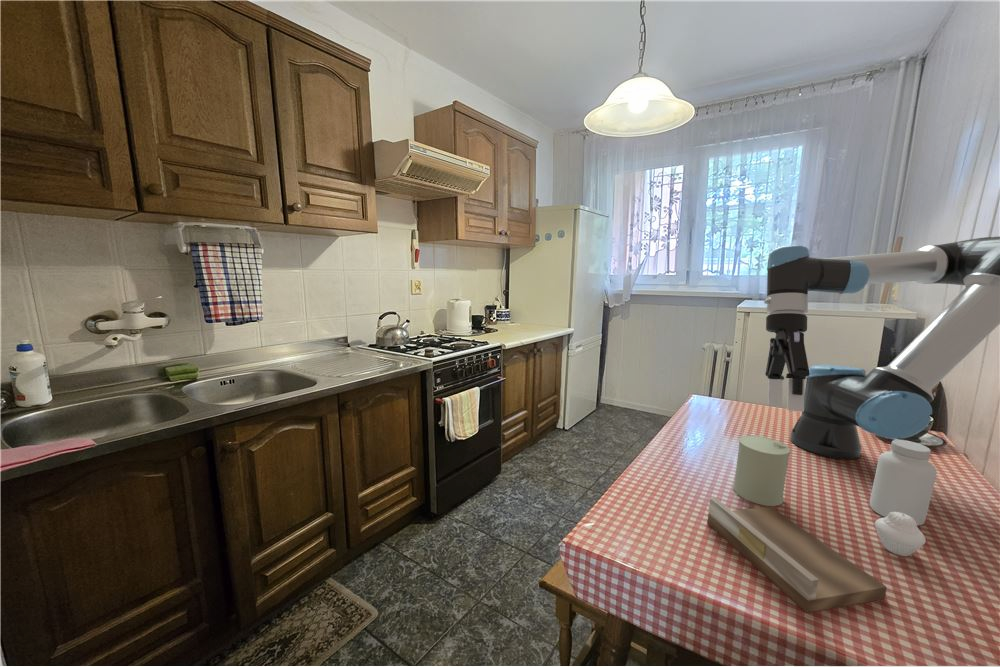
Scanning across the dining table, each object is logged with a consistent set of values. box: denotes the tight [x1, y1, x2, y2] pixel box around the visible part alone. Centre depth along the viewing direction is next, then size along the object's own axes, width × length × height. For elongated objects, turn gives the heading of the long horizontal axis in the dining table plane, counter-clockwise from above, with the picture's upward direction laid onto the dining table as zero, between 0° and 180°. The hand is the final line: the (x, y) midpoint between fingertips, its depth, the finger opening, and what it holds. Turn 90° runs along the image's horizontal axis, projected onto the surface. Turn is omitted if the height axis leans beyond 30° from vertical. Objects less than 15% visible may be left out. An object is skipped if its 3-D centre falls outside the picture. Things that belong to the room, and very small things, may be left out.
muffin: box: [874, 512, 927, 557], centre depth 67 cm, size 6×6×7 cm
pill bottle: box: [869, 439, 937, 527], centre depth 77 cm, size 8×8×15 cm
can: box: [732, 435, 791, 507], centre depth 84 cm, size 9×9×12 cm
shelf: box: [707, 497, 888, 614], centre depth 66 cm, size 14×20×5 cm
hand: (784, 408), depth 86 cm, fingers open, 13 cm apart
